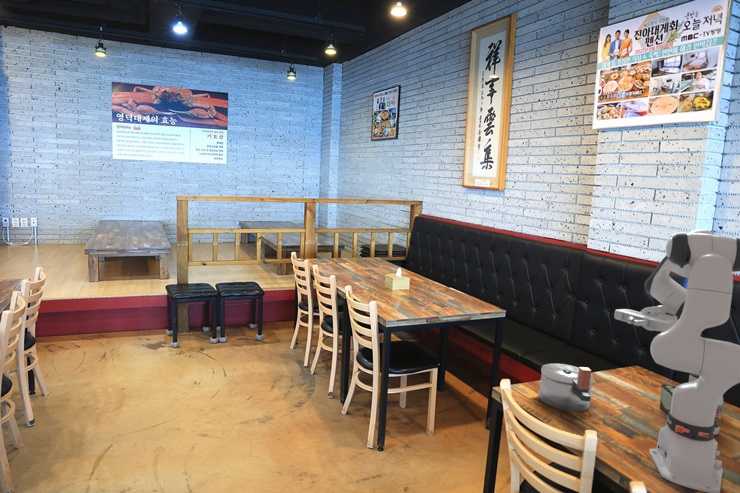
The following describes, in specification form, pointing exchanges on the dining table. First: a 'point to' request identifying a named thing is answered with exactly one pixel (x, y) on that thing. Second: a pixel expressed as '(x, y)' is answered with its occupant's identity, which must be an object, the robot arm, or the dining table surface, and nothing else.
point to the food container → (666, 397)
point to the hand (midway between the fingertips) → (632, 322)
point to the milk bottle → (718, 415)
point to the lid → (569, 375)
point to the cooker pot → (563, 395)
